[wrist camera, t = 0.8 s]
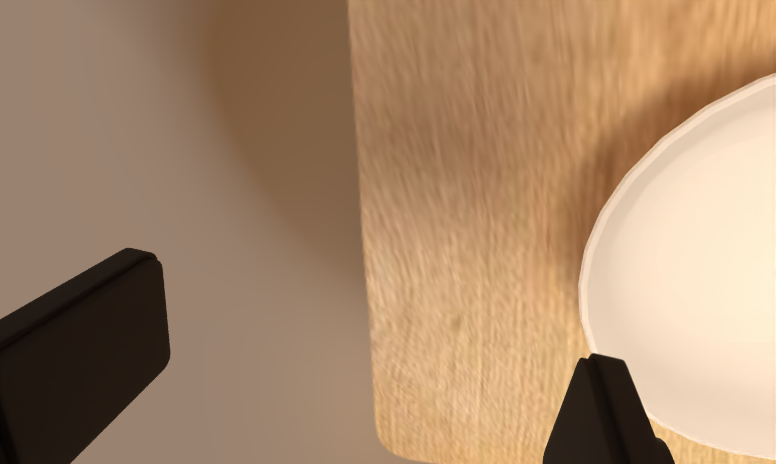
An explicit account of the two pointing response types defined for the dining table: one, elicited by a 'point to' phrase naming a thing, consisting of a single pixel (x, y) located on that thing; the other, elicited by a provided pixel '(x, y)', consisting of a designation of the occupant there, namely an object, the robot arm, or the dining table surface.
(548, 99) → the dining table surface
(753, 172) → the bowl
